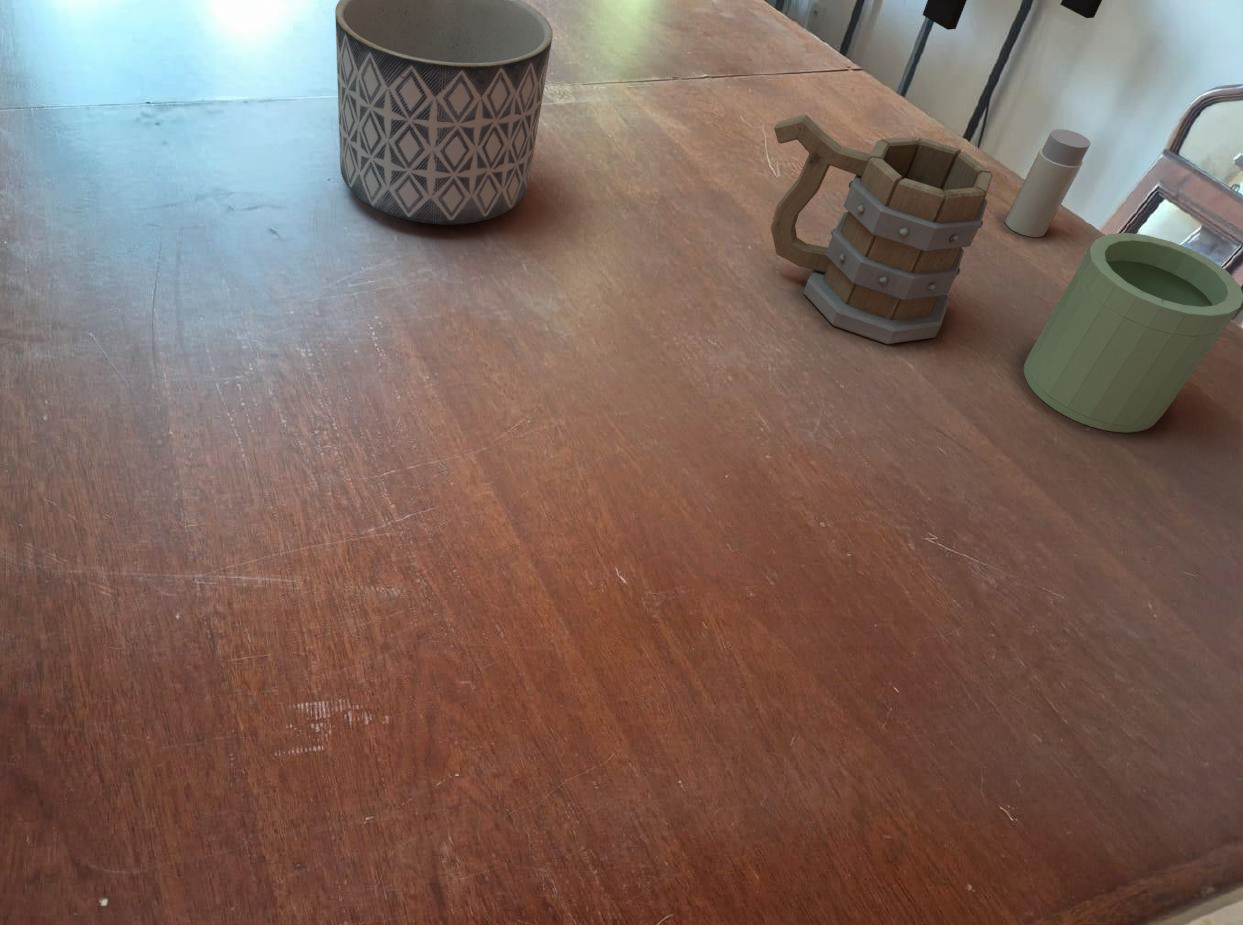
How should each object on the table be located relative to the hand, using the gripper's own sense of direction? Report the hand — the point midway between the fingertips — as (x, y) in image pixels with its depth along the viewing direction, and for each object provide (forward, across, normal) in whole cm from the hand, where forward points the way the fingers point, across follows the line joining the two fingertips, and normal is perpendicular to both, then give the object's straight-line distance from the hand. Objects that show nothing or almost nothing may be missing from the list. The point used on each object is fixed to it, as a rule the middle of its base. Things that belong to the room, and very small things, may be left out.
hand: (1009, 16), depth 77 cm
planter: (+27, +30, -33) cm, 53 cm away
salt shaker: (+28, -30, -12) cm, 43 cm away
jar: (+28, -15, +12) cm, 34 cm away
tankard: (+28, -1, -7) cm, 29 cm away
